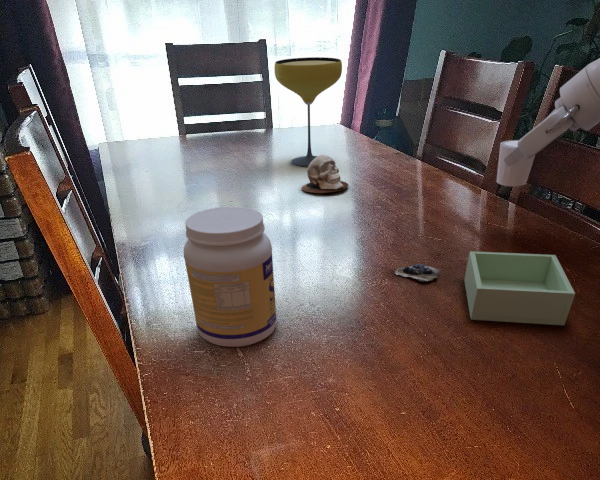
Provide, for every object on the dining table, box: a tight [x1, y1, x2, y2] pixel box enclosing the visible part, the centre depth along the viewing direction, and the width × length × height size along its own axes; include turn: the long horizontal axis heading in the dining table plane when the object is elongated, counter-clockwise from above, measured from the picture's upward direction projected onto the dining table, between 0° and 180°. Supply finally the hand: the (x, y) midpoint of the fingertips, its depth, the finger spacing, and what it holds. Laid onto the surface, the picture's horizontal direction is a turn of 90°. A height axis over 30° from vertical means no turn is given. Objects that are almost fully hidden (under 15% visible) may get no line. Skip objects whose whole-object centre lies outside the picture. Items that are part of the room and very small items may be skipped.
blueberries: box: [394, 263, 441, 283], centre depth 90 cm, size 7×8×2 cm
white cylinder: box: [496, 139, 537, 187], centre depth 98 cm, size 7×7×7 cm
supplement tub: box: [183, 205, 278, 348], centre depth 73 cm, size 12×12×17 cm
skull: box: [301, 154, 349, 194], centre depth 130 cm, size 12×10×10 cm
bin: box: [464, 251, 576, 326], centre depth 81 cm, size 14×14×5 cm
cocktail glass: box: [273, 56, 343, 168], centre depth 143 cm, size 18×18×25 cm
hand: (512, 157), depth 98 cm, fingers closed on white cylinder, 7 cm apart
